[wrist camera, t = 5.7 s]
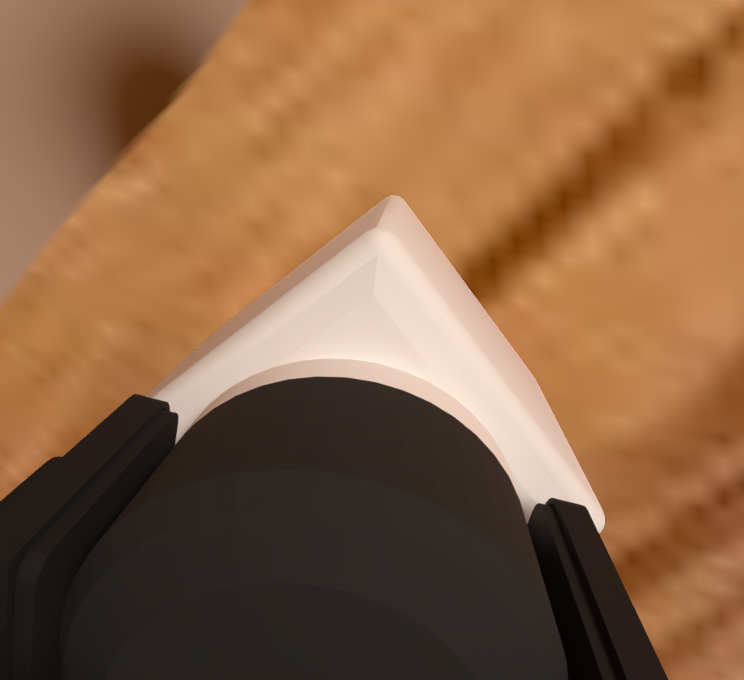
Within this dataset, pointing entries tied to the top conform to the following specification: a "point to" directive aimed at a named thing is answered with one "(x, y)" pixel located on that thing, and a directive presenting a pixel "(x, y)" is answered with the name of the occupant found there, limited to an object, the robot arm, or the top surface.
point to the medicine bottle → (339, 490)
